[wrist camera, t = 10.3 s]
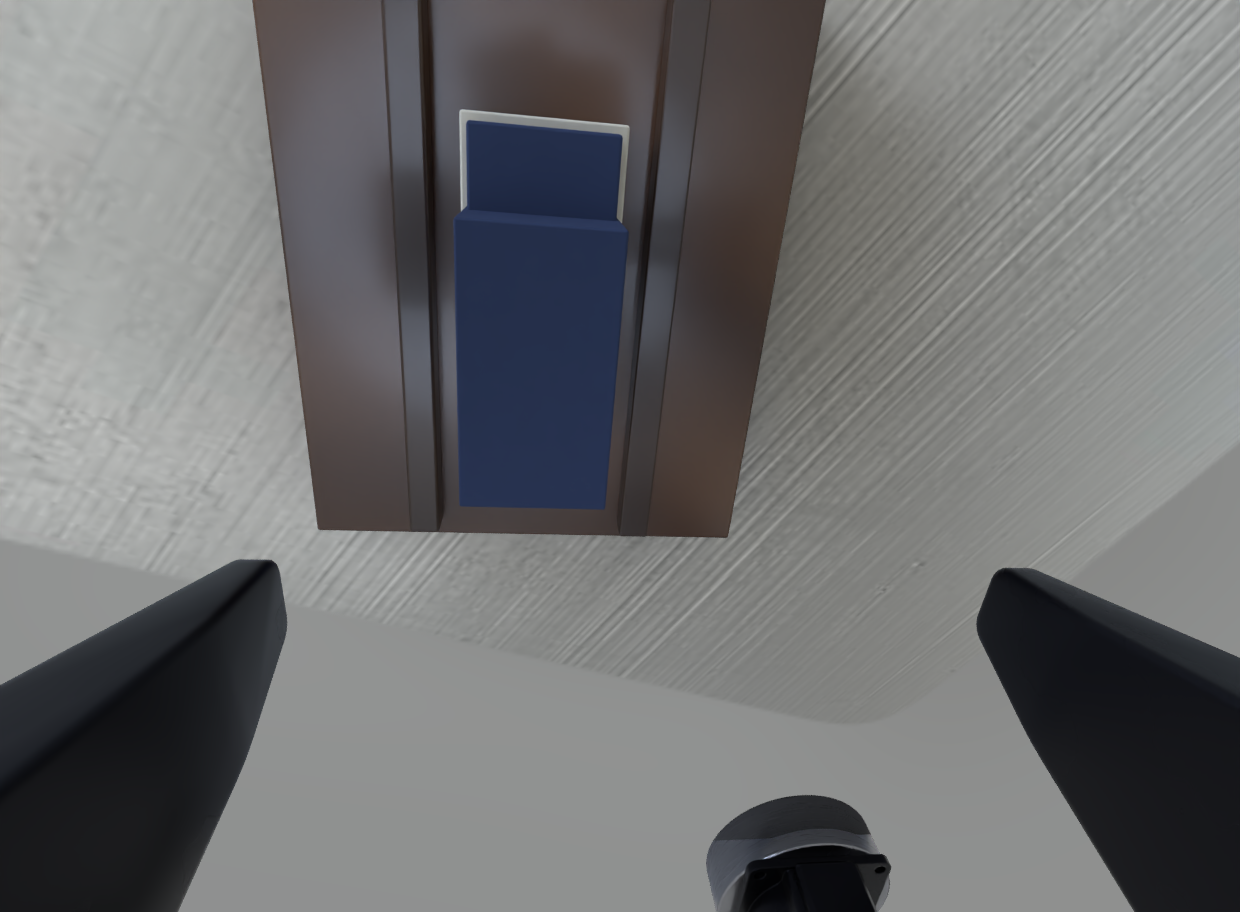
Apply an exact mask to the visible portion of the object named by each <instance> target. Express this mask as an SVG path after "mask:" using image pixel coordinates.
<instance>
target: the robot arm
mask: <svg viewBox="0 0 1240 912" xmlns="http://www.w3.org/2000/svg"><path fill="white" fill-rule="evenodd" d="M976 625H977V632H978V636H979V638H980V641H981V643H982V645H983V647H984V649H985V651H986V653H987V655H988V657H989V659H990V661H991V663H992V665H993V667H994V669H995V671H996V673H997V675H998V677H999V679H1000V681H1001V683H1002V685H1003V687H1004V689H1005V691H1006V693H1007V695H1008V697H1009V699H1010V701H1011V703H1012V705H1013V708H1014V710H1015V712H1016V714H1017V716H1018V717H1019V719H1020V722H1021V724H1022V725H1023V728H1024V729H1025V731H1026V733H1027V735H1028V737H1029V739H1030V741H1031V743H1032V744H1033V746H1034V747H1035V750H1036V751H1037V753H1038V755H1039V757H1040V758H1041V760H1042V762H1043V763H1044V765H1045V766H1046V768H1047V770H1048V771H1049V773H1050V774H1051V776H1052V778H1053V780H1054V781H1055V783H1056V784H1057V786H1058V788H1059V789H1060V791H1061V793H1062V794H1063V796H1064V798H1065V799H1066V801H1067V802H1068V804H1069V806H1070V807H1071V809H1072V811H1073V812H1074V814H1075V816H1076V817H1077V819H1078V820H1079V822H1080V824H1081V825H1082V827H1083V829H1084V830H1085V832H1086V834H1087V835H1088V837H1089V838H1090V840H1091V842H1092V843H1093V845H1094V847H1095V848H1096V850H1097V852H1098V853H1099V855H1100V856H1101V858H1102V860H1103V861H1104V863H1105V865H1106V866H1107V868H1108V870H1109V871H1110V873H1111V874H1112V876H1113V878H1114V879H1115V881H1116V883H1117V884H1118V886H1119V887H1120V889H1121V891H1122V892H1123V894H1124V896H1125V897H1126V899H1127V900H1128V902H1129V904H1130V905H1131V907H1132V909H1133V910H1134V912H1240V658H1238V657H1237V656H1234V655H1232V654H1230V653H1227V652H1225V651H1223V650H1220V649H1218V648H1216V647H1213V646H1211V645H1209V644H1206V643H1204V642H1202V641H1199V640H1197V639H1195V638H1192V637H1190V636H1188V635H1186V634H1183V633H1181V632H1179V631H1176V630H1174V629H1172V628H1169V627H1167V626H1165V625H1162V624H1160V623H1157V622H1155V621H1153V620H1151V619H1148V618H1146V617H1144V616H1141V615H1139V614H1137V613H1134V612H1132V611H1130V610H1127V609H1125V608H1123V607H1120V606H1118V605H1116V604H1114V603H1111V602H1109V601H1107V600H1104V599H1102V598H1100V597H1097V596H1095V595H1093V594H1090V593H1088V592H1086V591H1083V590H1081V589H1079V588H1076V587H1074V586H1072V585H1069V584H1067V583H1065V582H1062V581H1060V580H1058V579H1056V578H1053V577H1051V576H1049V575H1046V574H1044V573H1042V572H1039V571H1037V570H1034V569H1030V568H1003V569H1000V570H998V571H997V572H996V573H995V574H994V575H993V577H992V579H991V582H990V585H989V587H988V590H987V593H986V595H985V598H984V600H983V603H982V606H981V608H980V611H979V614H978V617H977V623H976ZM286 631H287V615H286V608H285V602H284V596H283V589H282V583H281V577H280V572H279V569H278V567H277V564H276V563H274V562H273V561H272V560H245V559H240V560H235V561H233V562H231V563H229V564H227V565H225V566H223V567H221V568H219V569H218V570H216V571H214V572H212V573H210V574H208V575H206V576H204V577H203V578H201V579H199V580H197V581H195V582H193V583H191V584H189V585H188V586H186V587H184V588H182V589H180V590H178V591H176V592H174V593H173V594H171V595H169V596H167V597H165V598H163V599H161V600H159V601H157V602H156V603H154V604H152V605H150V606H148V607H146V608H144V609H142V610H141V611H139V612H137V613H135V614H133V615H131V616H129V617H127V618H126V619H124V620H122V621H120V622H118V623H116V624H114V625H112V626H110V627H109V628H107V629H105V630H103V631H101V632H99V633H97V634H95V635H94V636H92V637H90V638H88V639H86V640H84V641H82V642H81V643H79V644H77V645H75V646H73V647H71V648H69V649H67V650H65V651H63V652H62V653H60V654H58V655H56V656H54V657H52V658H50V659H48V660H47V661H45V662H43V663H41V664H39V665H37V666H35V667H33V668H32V669H30V670H28V671H26V672H24V673H22V674H20V675H18V676H17V677H15V678H13V679H11V680H9V681H7V682H5V683H3V684H2V685H0V912H178V910H179V908H180V906H181V904H182V902H183V899H184V897H185V895H186V893H187V890H188V888H189V886H190V884H191V881H192V879H193V877H194V875H195V873H196V870H197V868H198V866H199V864H200V862H201V859H202V857H203V855H204V853H205V850H206V848H207V846H208V844H209V842H210V839H211V837H212V835H213V833H214V830H215V828H216V826H217V824H218V821H219V819H220V817H221V815H222V813H223V810H224V808H225V806H226V804H227V801H228V799H229V797H230V795H231V793H232V790H233V788H234V786H235V783H236V782H237V779H238V777H239V774H240V772H241V770H242V767H243V765H244V762H245V760H246V757H247V754H248V752H249V749H250V746H251V743H252V740H253V737H254V734H255V731H256V728H257V724H258V721H259V718H260V715H261V711H262V709H263V706H264V703H265V699H266V696H267V693H268V690H269V687H270V683H271V680H272V678H273V674H274V671H275V668H276V665H277V662H278V659H279V655H280V652H281V649H282V646H283V643H284V640H285V636H286ZM890 870H891V865H890V863H889V861H888V859H887V857H886V856H885V855H883V854H867V855H844V856H822V857H800V858H777V859H758V860H754V861H751V862H750V863H749V864H747V866H746V869H745V873H744V877H743V880H742V884H741V888H740V892H739V896H738V900H737V903H736V907H735V911H734V912H877V910H876V905H877V902H878V900H879V898H880V895H881V893H882V890H883V888H884V885H885V883H886V880H887V878H888V875H889V873H890Z"/></svg>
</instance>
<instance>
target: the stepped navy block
mask: <svg viewBox="0 0 1240 912" xmlns="http://www.w3.org/2000/svg"><path fill="white" fill-rule="evenodd" d="M459 125H460V186H461V212H460V213H459V214H458V215H457V216H456V217H454V220H453V227H454V275H455V323H456V370H457V418H458V466H459V505H460V506H462V507H504V508H549V509H594V510H604V509H605V504H606V493H607V481H608V469H609V458H610V446H611V435H612V423H613V411H614V400H615V388H616V377H617V365H618V353H619V342H620V330H621V318H622V307H623V295H624V284H625V272H626V260H627V249H628V237H629V232H628V230H627V229H626V228H625V227H624V226H623V224H622V218H623V206H624V193H625V181H626V169H627V157H628V144H629V132H630V127H629V126H628V125H620V124H609V123H599V122H589V121H578V120H568V119H558V118H547V117H537V116H527V115H516V114H506V113H495V112H485V111H475V110H464V109H462V110H460V112H459Z"/></svg>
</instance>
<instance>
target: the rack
mask: <svg viewBox="0 0 1240 912" xmlns="http://www.w3.org/2000/svg"><path fill="white" fill-rule="evenodd" d="M252 1H253V9H254V17H255V25H256V33H257V41H258V49H259V58H260V66H261V74H262V82H263V90H264V98H265V106H266V114H267V122H268V130H269V138H270V146H271V154H272V162H273V170H274V178H275V186H276V195H277V203H278V211H279V219H280V227H281V235H282V243H283V251H284V259H285V267H286V275H287V283H288V291H289V299H290V307H291V315H292V323H293V332H294V340H295V348H296V356H297V364H298V372H299V380H300V388H301V396H302V404H303V412H304V420H305V428H306V436H307V444H308V452H309V460H310V469H311V477H312V485H313V493H314V501H315V509H316V517H317V525H318V529H319V530H356V531H408V532H459V533H511V534H563V535H615V536H643V537H645V536H667V537H719V538H726V537H728V534H729V528H730V523H731V517H732V512H733V506H734V501H735V495H736V490H737V484H738V479H739V473H740V468H741V463H742V457H743V452H744V446H745V441H746V435H747V430H748V424H749V419H750V413H751V408H752V402H753V397H754V391H755V386H756V380H757V375H758V369H759V364H760V358H761V353H762V347H763V342H764V337H765V331H766V326H767V320H768V315H769V309H770V304H771V298H772V293H773V287H774V282H775V276H776V271H777V265H778V260H779V254H780V249H781V243H782V238H783V232H784V227H785V221H786V216H787V211H788V205H789V200H790V194H791V189H792V183H793V178H794V172H795V167H796V161H797V156H798V150H799V145H800V139H801V134H802V128H803V123H804V117H805V112H806V106H807V101H808V95H809V90H810V84H811V79H812V74H813V68H814V63H815V57H816V52H817V46H818V41H819V35H820V30H821V24H822V19H823V13H824V8H825V2H826V0H252ZM462 109H464V110H475V111H485V112H495V113H506V114H516V115H527V116H537V117H547V118H558V119H568V120H578V121H589V122H599V123H609V124H620V125H628V126H629V127H630V132H629V144H628V157H627V169H626V181H625V193H624V206H623V218H622V224H623V226H624V227H625V228H626V229H627V230H628V232H629V237H628V249H627V260H626V272H625V284H624V295H623V307H622V318H621V330H620V342H619V353H618V365H617V377H616V388H615V400H614V411H613V423H612V435H611V446H610V458H609V469H608V481H607V493H606V504H605V509H604V510H594V509H549V508H504V507H462V506H460V505H459V466H458V418H457V370H456V323H455V275H454V227H453V220H454V217H456V216H457V215H458V214H459V213H460V212H461V186H460V125H459V112H460V110H462Z"/></svg>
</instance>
